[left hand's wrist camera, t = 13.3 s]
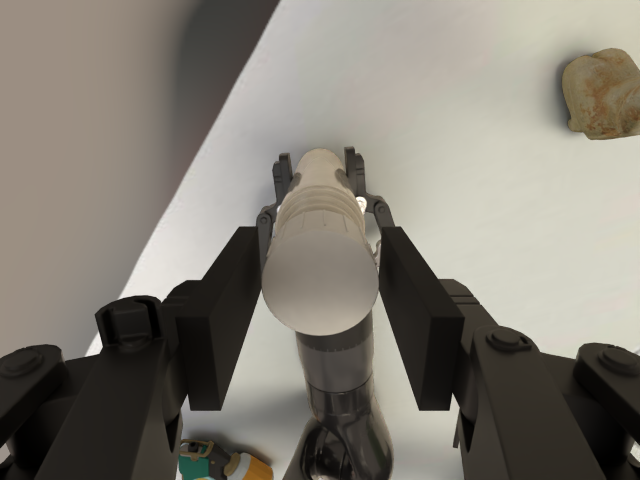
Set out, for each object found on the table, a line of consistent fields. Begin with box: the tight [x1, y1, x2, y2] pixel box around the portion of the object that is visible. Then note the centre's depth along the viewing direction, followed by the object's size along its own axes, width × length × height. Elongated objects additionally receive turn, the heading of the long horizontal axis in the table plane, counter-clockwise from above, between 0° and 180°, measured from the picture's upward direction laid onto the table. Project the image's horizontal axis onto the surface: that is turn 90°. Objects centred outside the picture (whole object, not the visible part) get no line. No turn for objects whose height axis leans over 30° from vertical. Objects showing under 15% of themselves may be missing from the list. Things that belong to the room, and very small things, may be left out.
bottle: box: [275, 148, 365, 236], centre depth 24 cm, size 5×5×24 cm
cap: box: [261, 210, 379, 336], centre depth 13 cm, size 4×4×2 cm
